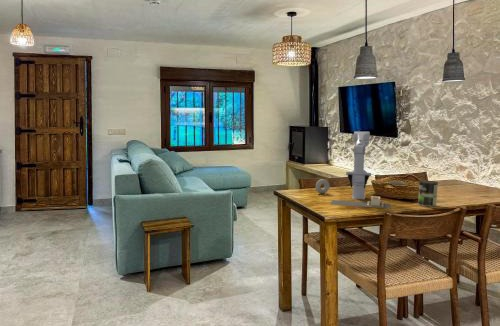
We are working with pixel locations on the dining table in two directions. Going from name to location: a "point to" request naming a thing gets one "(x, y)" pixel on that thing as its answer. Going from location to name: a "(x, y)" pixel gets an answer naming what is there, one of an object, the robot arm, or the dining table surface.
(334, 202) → the mat
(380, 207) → the frame
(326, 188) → the donut
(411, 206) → the dining table surface
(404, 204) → the dining table surface
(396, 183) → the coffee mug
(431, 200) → the coffee can
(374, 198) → the card box
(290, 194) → the dining table surface
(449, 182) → the dining table surface
